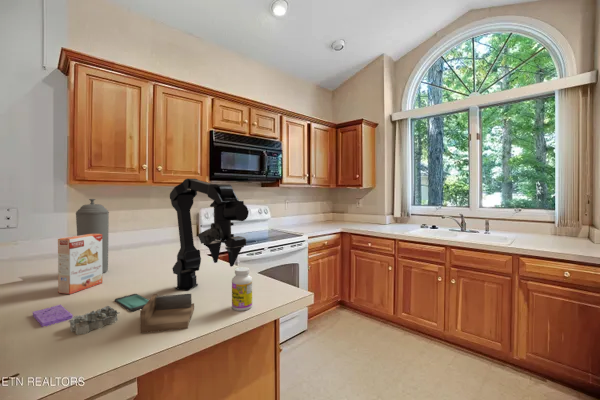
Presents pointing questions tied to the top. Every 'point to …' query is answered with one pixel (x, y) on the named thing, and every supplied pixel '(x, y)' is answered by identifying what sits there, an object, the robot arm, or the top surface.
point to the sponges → (52, 315)
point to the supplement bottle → (242, 289)
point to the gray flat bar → (173, 302)
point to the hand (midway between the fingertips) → (223, 264)
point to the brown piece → (163, 317)
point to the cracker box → (79, 262)
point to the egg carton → (93, 320)
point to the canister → (94, 226)
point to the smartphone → (132, 302)
